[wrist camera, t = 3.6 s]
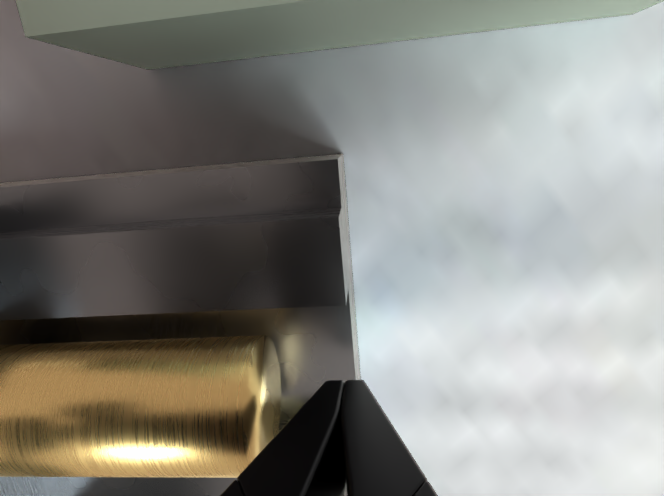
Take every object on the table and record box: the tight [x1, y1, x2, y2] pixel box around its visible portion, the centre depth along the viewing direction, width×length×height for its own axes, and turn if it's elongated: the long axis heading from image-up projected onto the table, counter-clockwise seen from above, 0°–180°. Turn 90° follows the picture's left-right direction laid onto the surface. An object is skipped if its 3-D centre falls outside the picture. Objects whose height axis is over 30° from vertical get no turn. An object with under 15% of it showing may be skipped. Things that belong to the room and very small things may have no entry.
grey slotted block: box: [0, 154, 361, 496], centre depth 10 cm, size 10×14×6 cm
